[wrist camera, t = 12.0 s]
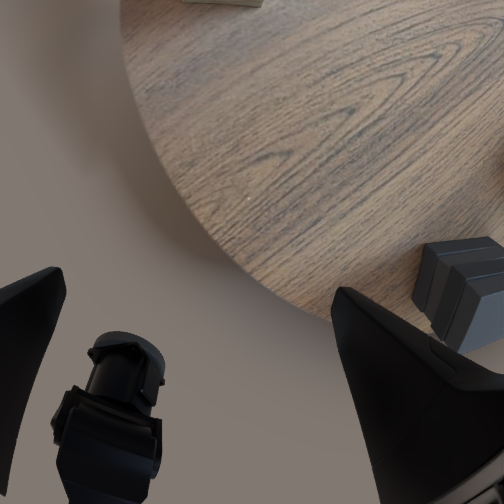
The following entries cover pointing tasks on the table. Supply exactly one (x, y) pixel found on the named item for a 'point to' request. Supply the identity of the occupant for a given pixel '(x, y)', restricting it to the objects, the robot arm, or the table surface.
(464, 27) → the table surface
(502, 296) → the grey stack
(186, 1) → the sage lidded box
